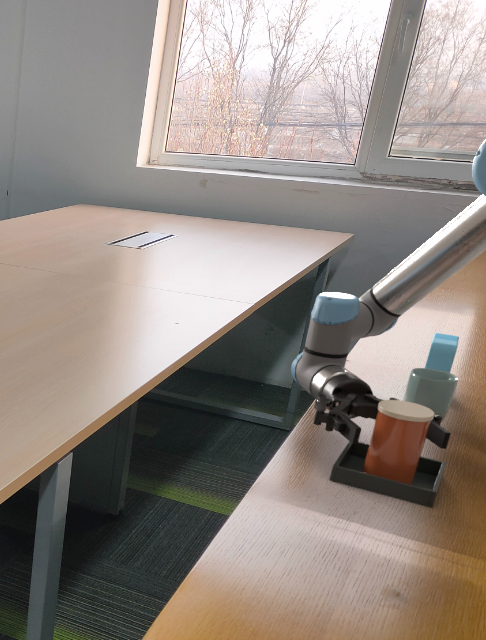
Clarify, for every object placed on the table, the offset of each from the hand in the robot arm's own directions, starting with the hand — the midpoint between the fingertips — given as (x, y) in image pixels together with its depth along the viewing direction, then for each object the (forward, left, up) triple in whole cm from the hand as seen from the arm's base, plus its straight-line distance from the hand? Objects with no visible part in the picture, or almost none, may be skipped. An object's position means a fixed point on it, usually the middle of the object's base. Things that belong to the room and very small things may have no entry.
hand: (401, 438), depth 124 cm
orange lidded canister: (+1, -1, -7) cm, 7 cm away
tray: (+1, -1, -8) cm, 8 cm away
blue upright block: (0, -58, -8) cm, 58 cm away
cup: (0, -35, -8) cm, 36 cm away
